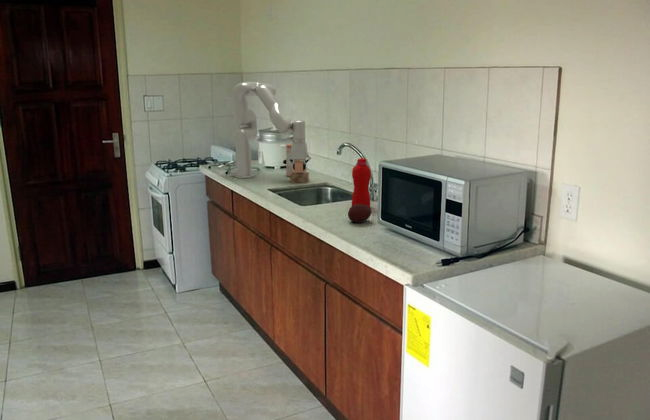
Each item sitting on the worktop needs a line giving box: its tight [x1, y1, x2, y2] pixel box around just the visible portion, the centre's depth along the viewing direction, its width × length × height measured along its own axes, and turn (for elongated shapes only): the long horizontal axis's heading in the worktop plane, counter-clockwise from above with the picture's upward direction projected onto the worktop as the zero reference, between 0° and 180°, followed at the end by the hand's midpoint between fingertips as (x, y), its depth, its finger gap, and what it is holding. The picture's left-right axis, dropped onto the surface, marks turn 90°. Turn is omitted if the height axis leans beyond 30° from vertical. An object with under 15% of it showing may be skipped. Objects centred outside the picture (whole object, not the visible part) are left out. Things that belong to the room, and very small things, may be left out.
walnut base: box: [289, 171, 310, 184], centre depth 328 cm, size 10×10×5 cm
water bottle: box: [348, 157, 372, 209], centre depth 263 cm, size 9×11×25 cm
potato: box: [347, 204, 372, 224], centre depth 241 cm, size 12×11×8 cm
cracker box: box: [285, 143, 307, 177], centre depth 346 cm, size 14×6×21 cm, turn 143°
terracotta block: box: [295, 161, 304, 172], centre depth 326 cm, size 5×5×6 cm
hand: (299, 169), depth 327 cm, fingers closed on terracotta block, 5 cm apart
